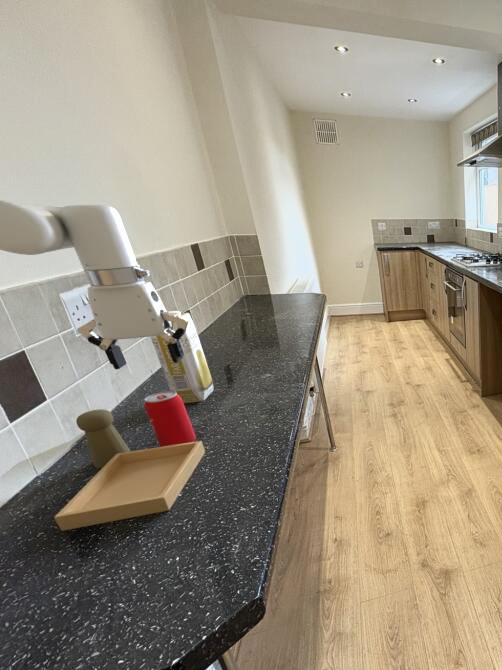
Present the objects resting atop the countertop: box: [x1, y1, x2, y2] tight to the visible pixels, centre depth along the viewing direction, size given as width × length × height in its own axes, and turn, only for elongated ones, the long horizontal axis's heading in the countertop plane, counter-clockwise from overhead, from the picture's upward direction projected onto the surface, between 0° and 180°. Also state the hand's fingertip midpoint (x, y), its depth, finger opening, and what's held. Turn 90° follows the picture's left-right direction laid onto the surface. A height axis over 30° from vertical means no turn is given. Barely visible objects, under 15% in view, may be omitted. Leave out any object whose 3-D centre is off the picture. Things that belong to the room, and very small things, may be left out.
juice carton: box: [150, 310, 215, 404], centre depth 108 cm, size 9×8×24 cm
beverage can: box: [144, 390, 197, 447], centre depth 88 cm, size 6×6×12 cm
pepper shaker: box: [75, 408, 131, 469], centre depth 83 cm, size 6×6×11 cm
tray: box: [53, 440, 206, 532], centre depth 76 cm, size 15×20×3 cm
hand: (150, 363), depth 83 cm, fingers open, 9 cm apart
